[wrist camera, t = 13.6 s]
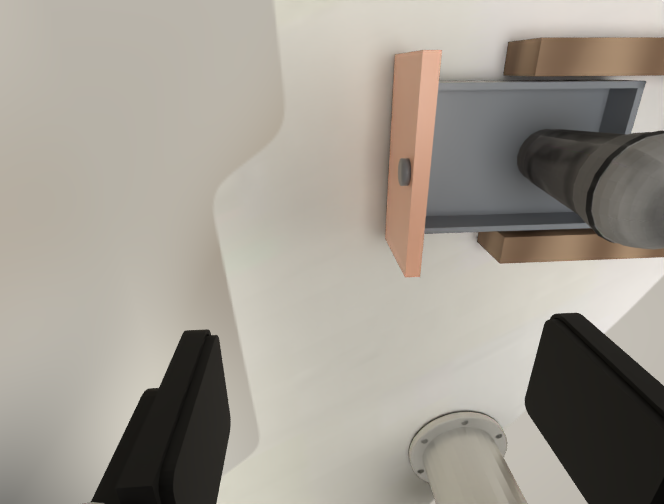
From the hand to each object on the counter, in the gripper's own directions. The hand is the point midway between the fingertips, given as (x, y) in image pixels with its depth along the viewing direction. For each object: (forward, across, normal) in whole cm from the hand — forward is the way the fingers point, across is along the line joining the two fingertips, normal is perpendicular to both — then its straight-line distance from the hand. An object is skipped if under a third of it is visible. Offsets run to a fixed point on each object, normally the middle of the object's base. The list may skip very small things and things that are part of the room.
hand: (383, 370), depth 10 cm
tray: (+28, -16, 0) cm, 32 cm away
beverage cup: (+27, -19, 0) cm, 33 cm away
